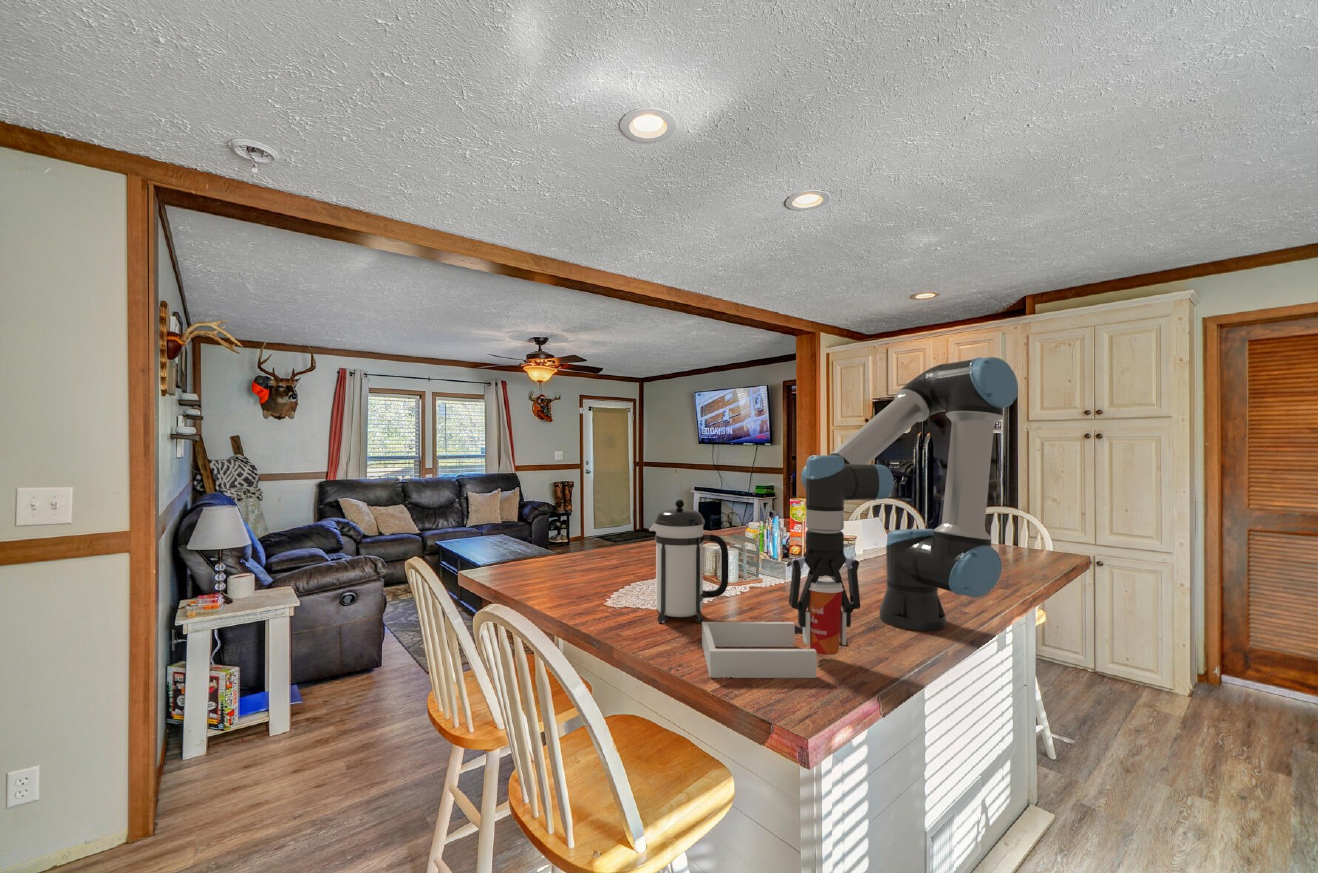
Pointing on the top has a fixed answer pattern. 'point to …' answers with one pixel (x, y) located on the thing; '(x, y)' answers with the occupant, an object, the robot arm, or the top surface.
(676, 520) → the coffee press
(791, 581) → the robot arm
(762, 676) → the box
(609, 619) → the top surface
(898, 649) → the top surface
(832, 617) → the paper cup
